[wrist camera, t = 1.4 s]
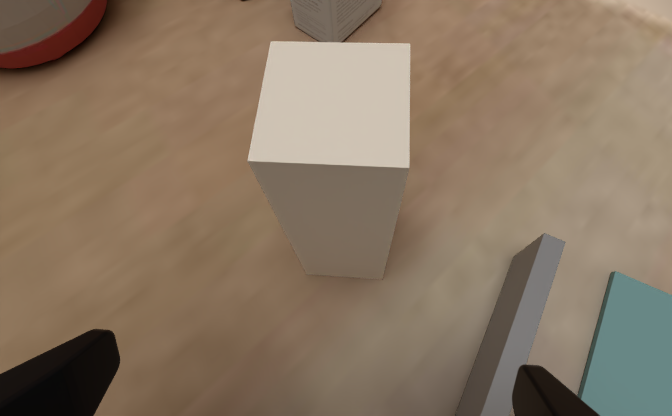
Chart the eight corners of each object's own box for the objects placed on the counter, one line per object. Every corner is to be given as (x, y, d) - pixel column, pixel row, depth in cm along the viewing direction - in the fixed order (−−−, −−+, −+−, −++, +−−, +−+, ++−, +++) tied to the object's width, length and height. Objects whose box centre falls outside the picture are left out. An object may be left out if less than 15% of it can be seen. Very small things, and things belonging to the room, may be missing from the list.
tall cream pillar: (382, 279, 22) (409, 168, 10) (306, 274, 23) (247, 161, 11) (384, 209, 24) (410, 43, 12) (314, 205, 24) (270, 41, 12)
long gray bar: (428, 558, 17) (446, 608, 13) (407, 544, 17) (419, 589, 14) (531, 264, 22) (565, 241, 18) (513, 256, 22) (544, 233, 19)
